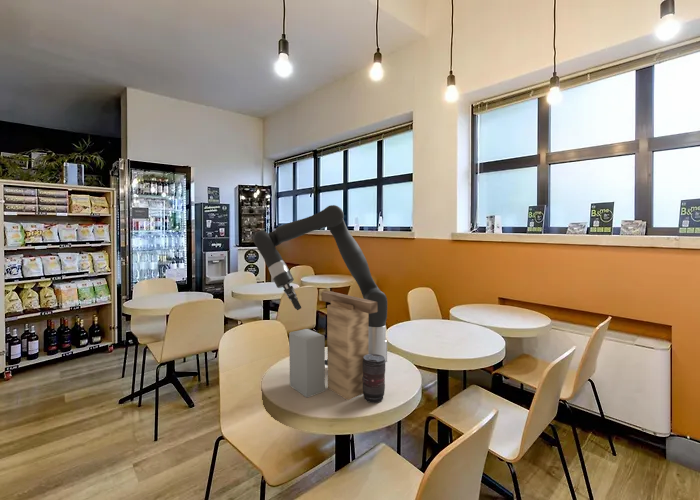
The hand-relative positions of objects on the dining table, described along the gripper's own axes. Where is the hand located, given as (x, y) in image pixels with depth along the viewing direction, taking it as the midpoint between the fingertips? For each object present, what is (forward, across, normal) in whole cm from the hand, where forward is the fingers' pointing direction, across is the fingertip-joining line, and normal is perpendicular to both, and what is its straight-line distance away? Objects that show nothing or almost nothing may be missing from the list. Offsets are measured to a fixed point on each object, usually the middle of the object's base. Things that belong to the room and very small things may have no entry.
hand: (298, 308), depth 141 cm
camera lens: (+42, -13, -9) cm, 45 cm away
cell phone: (+28, +21, -2) cm, 35 cm away
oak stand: (+36, -6, -3) cm, 37 cm away
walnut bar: (+9, -15, -16) cm, 24 cm away
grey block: (+29, -4, +11) cm, 31 cm away
